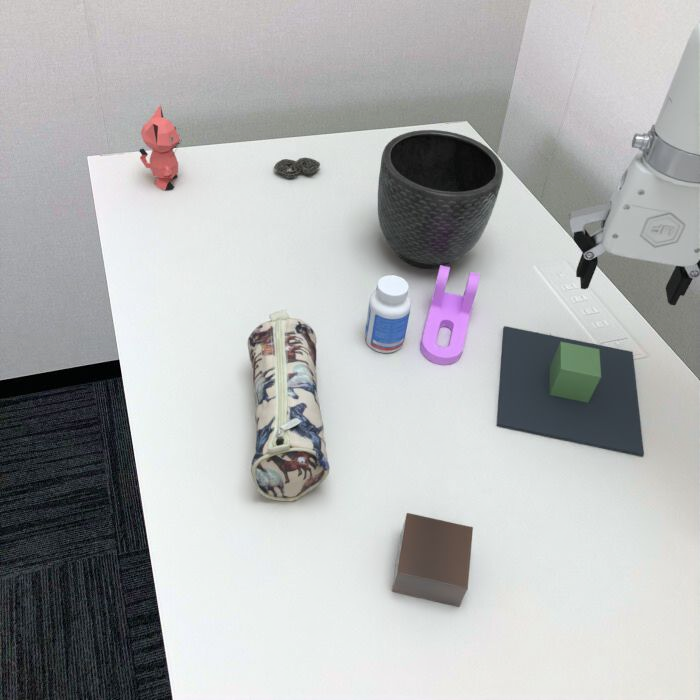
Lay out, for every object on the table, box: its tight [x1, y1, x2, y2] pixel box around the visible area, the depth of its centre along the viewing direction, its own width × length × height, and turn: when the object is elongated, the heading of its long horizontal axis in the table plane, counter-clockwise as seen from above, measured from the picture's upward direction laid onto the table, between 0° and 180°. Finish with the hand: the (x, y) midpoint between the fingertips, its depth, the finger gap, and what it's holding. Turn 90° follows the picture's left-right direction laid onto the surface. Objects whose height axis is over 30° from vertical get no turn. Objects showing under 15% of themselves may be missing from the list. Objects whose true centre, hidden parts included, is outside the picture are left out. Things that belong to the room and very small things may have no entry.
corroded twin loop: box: [273, 157, 321, 179], centre depth 126 cm, size 5×8×1 cm, turn 108°
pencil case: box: [247, 309, 331, 502], centre depth 85 cm, size 22×8×10 cm, turn 6°
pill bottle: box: [364, 274, 412, 354], centre depth 96 cm, size 6×5×10 cm
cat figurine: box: [138, 103, 183, 191], centre depth 116 cm, size 7×7×12 cm
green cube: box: [550, 342, 601, 403], centre depth 95 cm, size 5×5×5 cm
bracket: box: [420, 265, 481, 366], centre depth 100 cm, size 13×6×7 cm, turn 166°
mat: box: [496, 325, 645, 458], centre depth 97 cm, size 18×18×1 cm
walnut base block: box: [391, 512, 474, 608], centre depth 76 cm, size 7×7×4 cm
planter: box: [377, 129, 504, 270], centre depth 108 cm, size 17×17×16 cm
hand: (626, 289), depth 83 cm, fingers open, 9 cm apart
